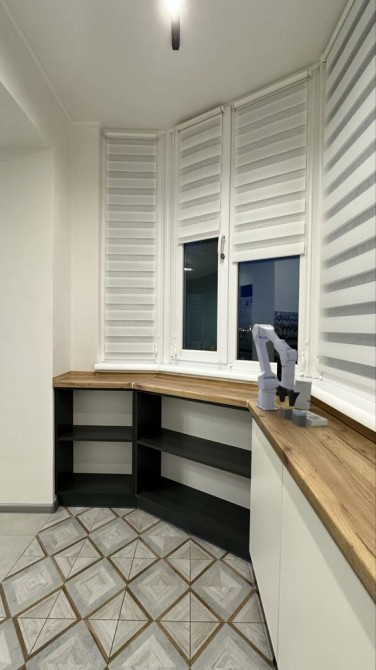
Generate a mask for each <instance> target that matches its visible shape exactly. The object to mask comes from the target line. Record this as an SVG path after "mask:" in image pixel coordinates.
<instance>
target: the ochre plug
mask: <svg viewBox="0 0 376 670" xmlns="http://www.w3.org/2000/svg"><path fill="white" fill-rule="evenodd" d="M293 409H294V408H293V407H290V406H289V404H280V409H279V417H280V418H282V419H284V420H289V419H292V420H293V416H292V413H293V411H294V410H293Z"/></svg>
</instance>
